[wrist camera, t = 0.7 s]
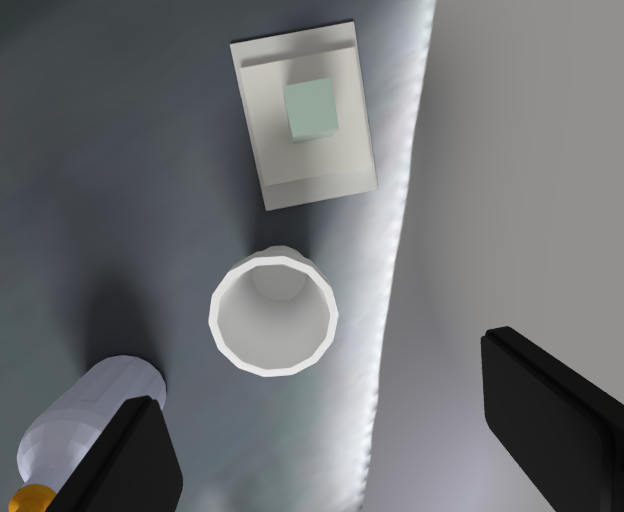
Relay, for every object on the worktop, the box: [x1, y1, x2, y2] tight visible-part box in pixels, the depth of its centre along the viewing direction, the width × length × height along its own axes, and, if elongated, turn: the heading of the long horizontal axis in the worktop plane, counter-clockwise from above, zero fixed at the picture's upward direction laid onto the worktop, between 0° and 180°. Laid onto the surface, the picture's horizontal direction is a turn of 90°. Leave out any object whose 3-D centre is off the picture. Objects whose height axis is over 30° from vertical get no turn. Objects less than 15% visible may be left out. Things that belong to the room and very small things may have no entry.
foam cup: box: [209, 245, 339, 377], centre depth 31 cm, size 10×9×13 cm
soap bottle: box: [8, 355, 166, 512], centre depth 27 cm, size 9×9×25 cm
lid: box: [240, 47, 372, 186], centre depth 31 cm, size 11×11×6 cm
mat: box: [230, 22, 378, 211], centre depth 34 cm, size 16×12×1 cm
